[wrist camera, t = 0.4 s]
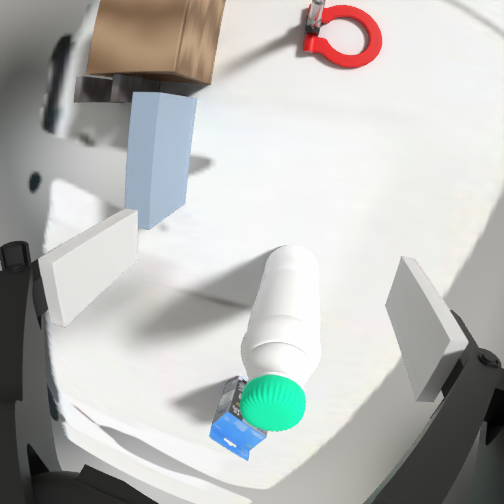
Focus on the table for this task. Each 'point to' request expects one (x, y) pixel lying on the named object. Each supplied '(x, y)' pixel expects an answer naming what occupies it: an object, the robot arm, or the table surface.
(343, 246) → the table surface
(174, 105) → the door
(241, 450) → the label tape box
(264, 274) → the water bottle
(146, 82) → the cabinet
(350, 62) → the tow hook
